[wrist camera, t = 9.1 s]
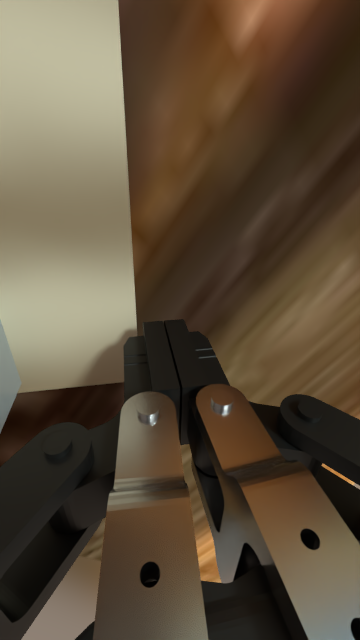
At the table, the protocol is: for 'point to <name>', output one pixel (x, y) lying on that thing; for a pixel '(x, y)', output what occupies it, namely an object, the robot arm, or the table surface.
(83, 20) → the board
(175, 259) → the table surface
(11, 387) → the blue gray block
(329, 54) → the table surface
